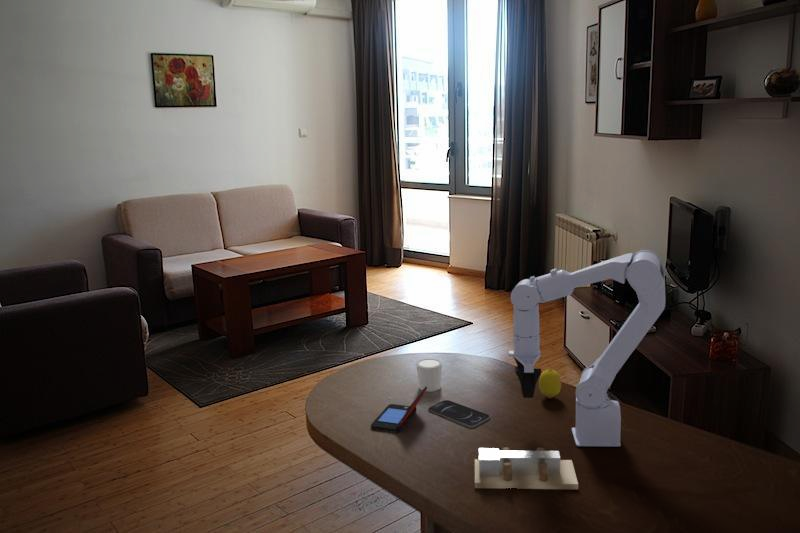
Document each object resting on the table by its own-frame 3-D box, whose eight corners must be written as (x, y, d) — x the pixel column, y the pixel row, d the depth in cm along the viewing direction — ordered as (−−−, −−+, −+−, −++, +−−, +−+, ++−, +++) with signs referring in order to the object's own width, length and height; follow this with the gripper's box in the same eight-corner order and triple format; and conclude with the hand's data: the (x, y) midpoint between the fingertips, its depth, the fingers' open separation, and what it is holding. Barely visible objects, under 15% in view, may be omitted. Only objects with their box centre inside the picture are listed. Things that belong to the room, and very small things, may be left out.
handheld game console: (389, 407, 172) (387, 380, 170) (429, 412, 168) (428, 385, 166) (369, 430, 161) (367, 401, 159) (411, 436, 157) (410, 406, 155)
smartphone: (446, 399, 174) (491, 415, 163) (446, 402, 174) (492, 419, 163) (425, 409, 169) (471, 426, 158) (426, 412, 169) (471, 430, 158)
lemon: (564, 395, 173) (564, 366, 171) (556, 404, 168) (556, 374, 166) (543, 391, 176) (543, 363, 174) (535, 400, 171) (535, 370, 169)
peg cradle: (571, 465, 141) (571, 446, 140) (578, 489, 132) (578, 469, 131) (474, 464, 143) (474, 445, 142) (474, 488, 134) (474, 468, 133)
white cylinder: (443, 392, 179) (442, 367, 177) (417, 393, 179) (416, 368, 178) (442, 381, 186) (441, 357, 184) (417, 382, 186) (416, 358, 184)
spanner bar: (558, 465, 139) (558, 448, 138) (560, 477, 134) (560, 460, 133) (479, 464, 140) (478, 448, 139) (479, 476, 136) (479, 459, 135)
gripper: (506, 323, 158) (507, 377, 162) (509, 345, 144) (510, 403, 148) (537, 322, 158) (537, 377, 161) (543, 344, 144) (543, 403, 147)
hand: (526, 390), depth 154 cm, fingers open, 7 cm apart
